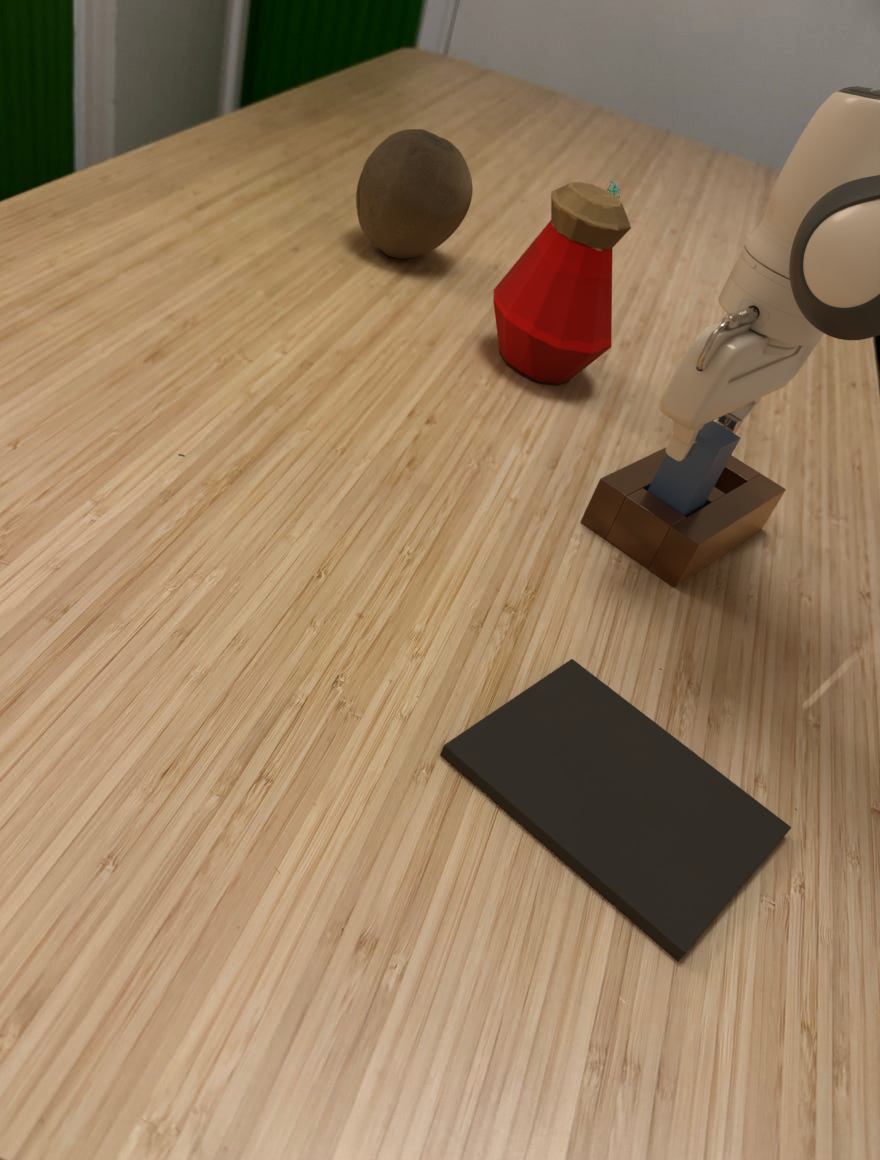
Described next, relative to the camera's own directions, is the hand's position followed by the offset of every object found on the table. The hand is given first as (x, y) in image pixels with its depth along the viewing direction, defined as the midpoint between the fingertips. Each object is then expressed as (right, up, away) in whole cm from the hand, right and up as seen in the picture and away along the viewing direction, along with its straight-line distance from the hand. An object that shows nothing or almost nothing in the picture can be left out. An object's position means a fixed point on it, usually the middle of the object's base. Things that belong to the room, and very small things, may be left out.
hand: (700, 443), depth 93 cm
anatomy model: (+5, +56, +83) cm, 100 cm away
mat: (-12, -28, -21) cm, 37 cm away
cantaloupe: (-27, +33, +44) cm, 61 cm away
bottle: (-11, +15, +29) cm, 34 cm away
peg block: (0, -6, +10) cm, 11 cm away
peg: (-2, -8, +7) cm, 11 cm away
